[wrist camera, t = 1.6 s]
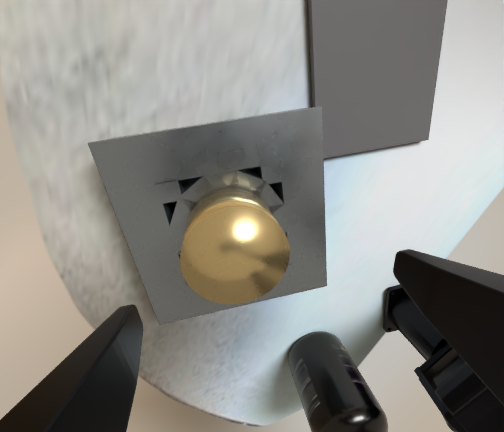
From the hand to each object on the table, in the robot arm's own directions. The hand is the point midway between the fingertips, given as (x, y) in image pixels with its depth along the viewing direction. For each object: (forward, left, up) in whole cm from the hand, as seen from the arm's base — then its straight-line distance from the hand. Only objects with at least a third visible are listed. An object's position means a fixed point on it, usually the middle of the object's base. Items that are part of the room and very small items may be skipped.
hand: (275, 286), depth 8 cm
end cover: (-2, +1, -13) cm, 13 cm away
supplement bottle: (-22, -6, -13) cm, 26 cm away
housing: (-2, +1, -13) cm, 13 cm away
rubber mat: (+7, -12, -13) cm, 19 cm away
